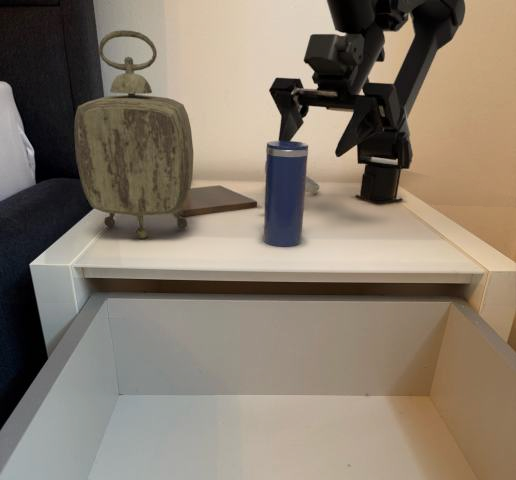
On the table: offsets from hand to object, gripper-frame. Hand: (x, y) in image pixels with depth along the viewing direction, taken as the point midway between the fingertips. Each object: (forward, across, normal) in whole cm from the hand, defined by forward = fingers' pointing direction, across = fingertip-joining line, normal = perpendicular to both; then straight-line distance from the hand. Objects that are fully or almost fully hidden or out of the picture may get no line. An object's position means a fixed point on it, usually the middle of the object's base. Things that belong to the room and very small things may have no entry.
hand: (307, 150), depth 69 cm
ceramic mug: (-7, -16, +23) cm, 29 cm away
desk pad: (+6, -23, +11) cm, 26 cm away
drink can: (+12, 0, +5) cm, 13 cm away
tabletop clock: (+20, -17, -3) cm, 26 cm away
